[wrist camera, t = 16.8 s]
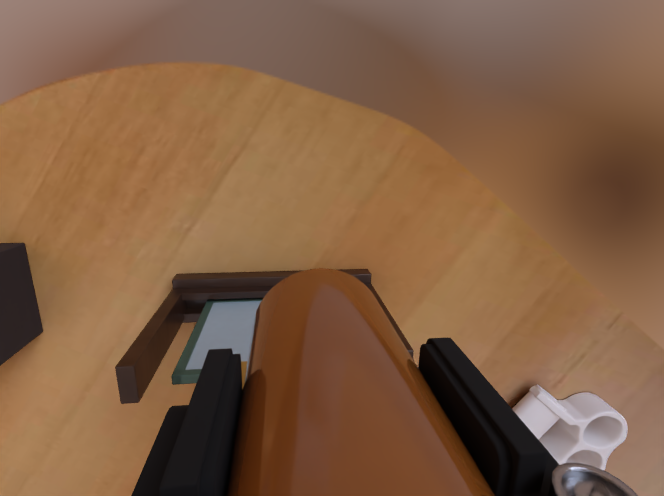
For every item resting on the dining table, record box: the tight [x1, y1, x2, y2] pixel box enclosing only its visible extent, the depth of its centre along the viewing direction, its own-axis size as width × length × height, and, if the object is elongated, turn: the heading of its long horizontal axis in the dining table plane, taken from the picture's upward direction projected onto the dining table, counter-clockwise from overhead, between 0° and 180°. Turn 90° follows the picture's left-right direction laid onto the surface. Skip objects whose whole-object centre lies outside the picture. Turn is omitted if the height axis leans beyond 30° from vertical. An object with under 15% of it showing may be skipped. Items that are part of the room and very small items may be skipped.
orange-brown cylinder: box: [226, 268, 495, 496], centre depth 9 cm, size 5×5×9 cm
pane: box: [172, 298, 263, 389], centre depth 26 cm, size 2×7×14 cm, turn 89°
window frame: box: [115, 269, 413, 404], centre depth 28 cm, size 4×17×13 cm, turn 89°
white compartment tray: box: [512, 384, 628, 470], centre depth 42 cm, size 3×18×15 cm
